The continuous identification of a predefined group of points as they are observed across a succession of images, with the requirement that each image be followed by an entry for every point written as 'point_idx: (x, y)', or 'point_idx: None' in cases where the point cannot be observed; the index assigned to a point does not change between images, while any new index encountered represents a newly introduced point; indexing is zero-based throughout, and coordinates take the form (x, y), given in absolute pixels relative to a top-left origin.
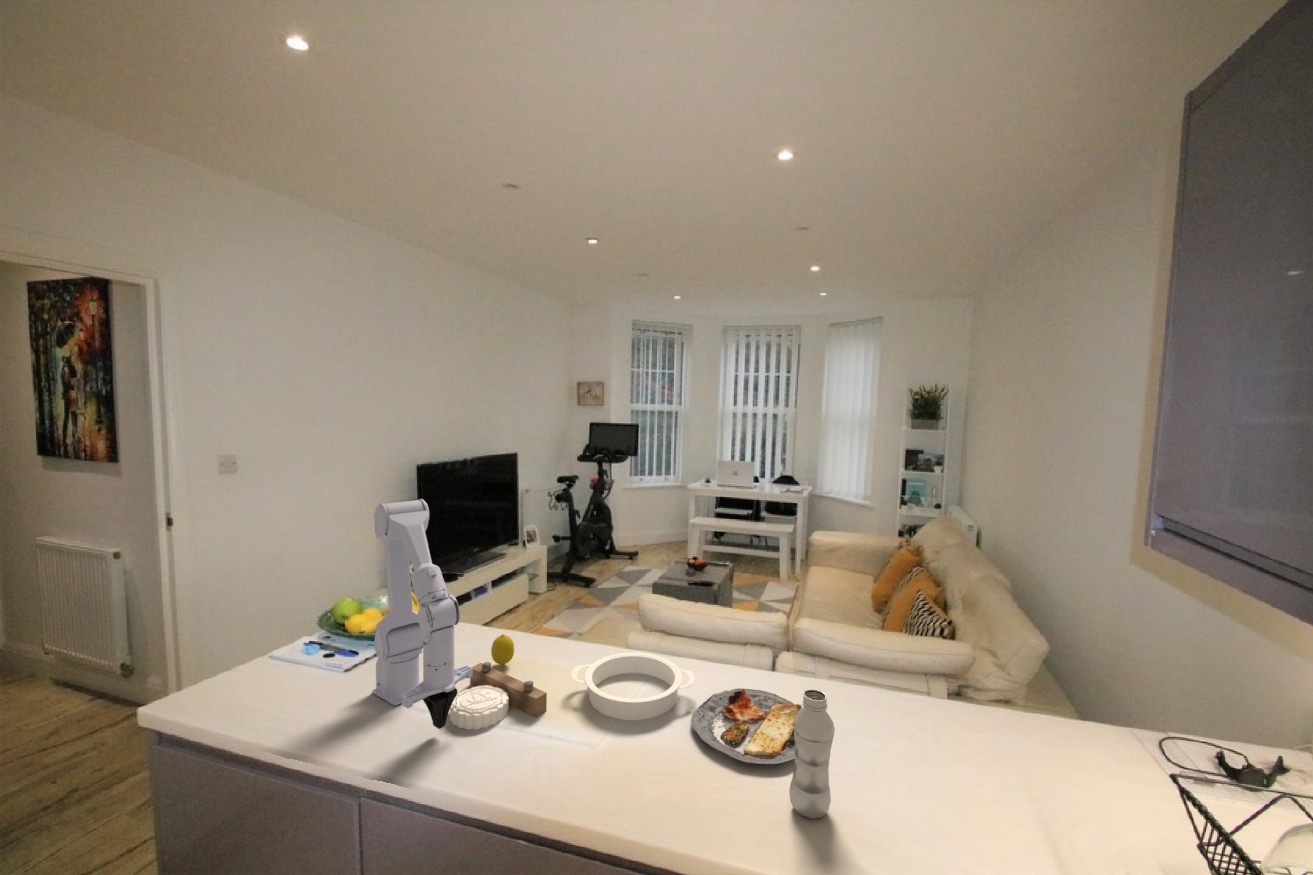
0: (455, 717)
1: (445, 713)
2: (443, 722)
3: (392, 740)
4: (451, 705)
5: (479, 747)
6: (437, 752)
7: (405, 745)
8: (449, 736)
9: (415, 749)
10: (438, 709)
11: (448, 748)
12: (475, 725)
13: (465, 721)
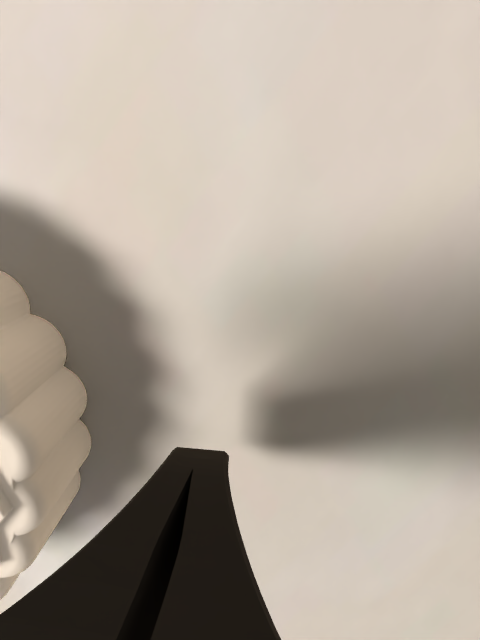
0: (59, 463)
1: (154, 524)
2: (189, 467)
3: (390, 595)
4: (9, 575)
5: (129, 66)
6: (345, 302)
7: (390, 514)
8: (182, 371)
9: (391, 442)
10: (261, 637)
11: (274, 273)
12: (1, 293)
13: (34, 370)
